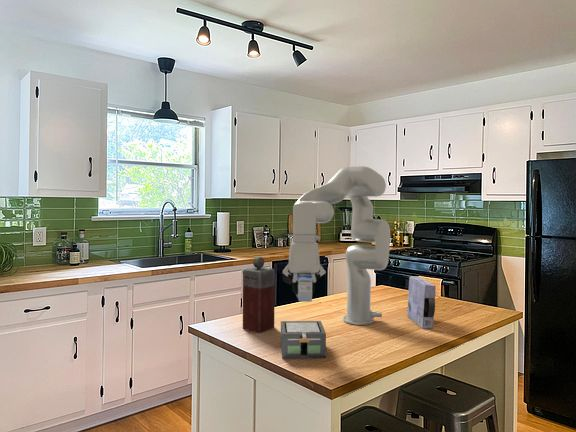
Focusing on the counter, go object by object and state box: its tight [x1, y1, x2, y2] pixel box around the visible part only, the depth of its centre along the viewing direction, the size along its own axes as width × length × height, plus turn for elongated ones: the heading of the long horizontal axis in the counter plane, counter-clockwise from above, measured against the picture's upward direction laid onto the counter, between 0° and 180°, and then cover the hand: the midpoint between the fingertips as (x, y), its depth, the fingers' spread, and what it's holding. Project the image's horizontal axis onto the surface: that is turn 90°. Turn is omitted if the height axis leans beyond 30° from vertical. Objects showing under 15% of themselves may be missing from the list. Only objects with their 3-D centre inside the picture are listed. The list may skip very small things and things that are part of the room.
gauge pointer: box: [299, 338, 309, 342], centre depth 140 cm, size 3×1×1 cm, turn 92°
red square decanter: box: [242, 256, 276, 334], centre depth 172 cm, size 9×11×28 cm
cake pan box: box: [406, 275, 437, 330], centre depth 181 cm, size 19×5×18 cm, turn 4°
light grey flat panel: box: [286, 322, 320, 339], centre depth 146 cm, size 11×14×1 cm
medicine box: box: [295, 274, 313, 303], centre depth 147 cm, size 8×4×9 cm, turn 5°
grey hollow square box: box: [280, 320, 327, 360], centre depth 148 cm, size 14×14×8 cm
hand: (303, 293), depth 147 cm, fingers closed on medicine box, 4 cm apart
